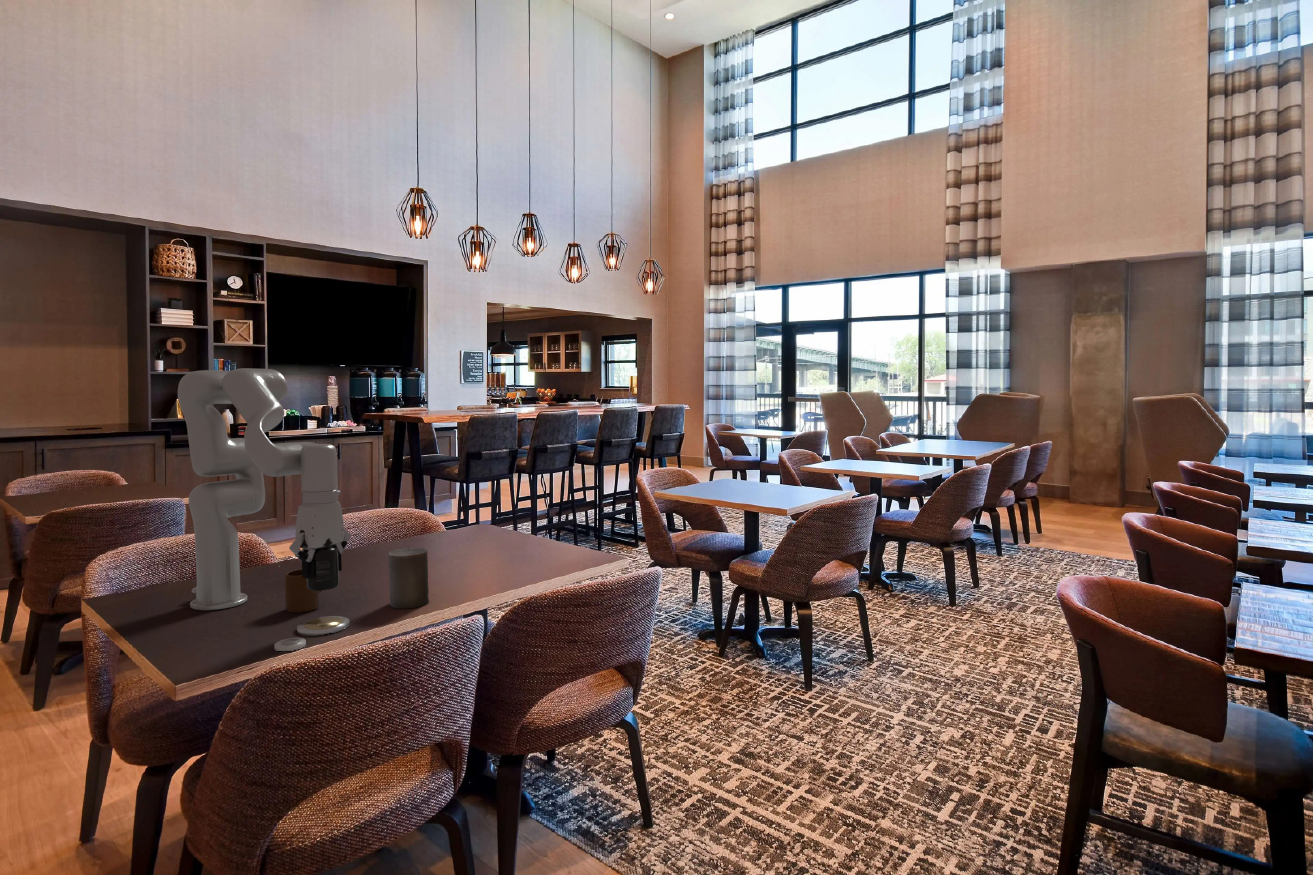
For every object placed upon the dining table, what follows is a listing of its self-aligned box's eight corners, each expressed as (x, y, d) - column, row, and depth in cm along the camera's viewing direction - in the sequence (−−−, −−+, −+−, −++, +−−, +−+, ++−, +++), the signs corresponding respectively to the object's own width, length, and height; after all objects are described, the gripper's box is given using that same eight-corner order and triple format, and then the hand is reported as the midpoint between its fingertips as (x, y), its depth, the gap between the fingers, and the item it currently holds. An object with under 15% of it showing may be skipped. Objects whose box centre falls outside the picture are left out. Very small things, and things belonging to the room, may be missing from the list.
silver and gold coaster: (286, 631, 163) (286, 626, 163) (326, 617, 173) (326, 612, 173) (320, 638, 159) (320, 633, 159) (359, 624, 169) (359, 619, 169)
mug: (330, 599, 188) (329, 564, 188) (341, 605, 183) (340, 569, 182) (281, 608, 180) (280, 572, 180) (291, 615, 175) (290, 577, 174)
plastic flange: (268, 649, 152) (267, 644, 152) (292, 640, 157) (292, 635, 157) (287, 653, 149) (287, 648, 149) (312, 644, 155) (312, 639, 155)
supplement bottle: (345, 583, 168) (343, 533, 168) (329, 591, 162) (327, 539, 161) (317, 583, 169) (315, 533, 168) (300, 591, 162) (298, 539, 161)
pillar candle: (436, 601, 187) (435, 544, 186) (406, 611, 178) (405, 551, 178) (411, 596, 192) (410, 541, 191) (381, 605, 183) (379, 547, 183)
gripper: (339, 492, 173) (341, 564, 174) (274, 502, 158) (277, 581, 159) (362, 493, 170) (364, 567, 171) (298, 504, 154) (301, 585, 156)
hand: (322, 573), depth 165 cm, fingers closed on supplement bottle, 6 cm apart
